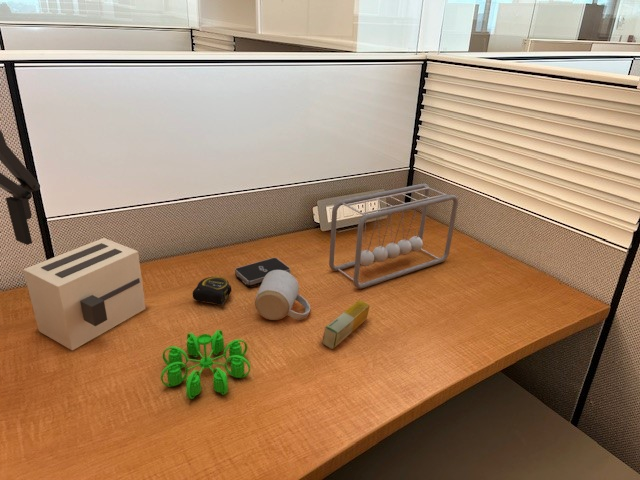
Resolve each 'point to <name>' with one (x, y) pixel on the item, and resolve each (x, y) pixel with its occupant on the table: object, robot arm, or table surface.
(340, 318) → the medication box
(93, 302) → the slider button
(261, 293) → the ceramic mug
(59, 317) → the toaster
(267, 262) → the external hard drive
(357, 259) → the newton's cradle
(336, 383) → the table surface
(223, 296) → the tape measure
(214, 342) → the chandelier
